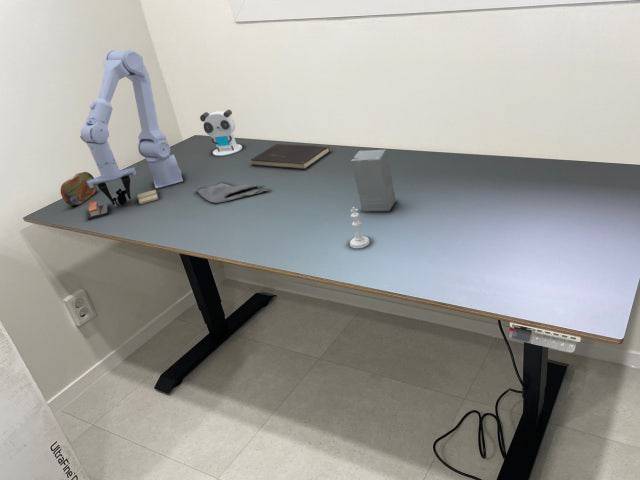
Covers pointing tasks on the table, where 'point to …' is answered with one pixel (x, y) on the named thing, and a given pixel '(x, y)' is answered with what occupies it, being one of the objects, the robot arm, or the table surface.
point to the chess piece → (358, 233)
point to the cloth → (228, 192)
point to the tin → (77, 189)
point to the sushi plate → (97, 210)
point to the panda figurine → (221, 132)
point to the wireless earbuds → (120, 197)
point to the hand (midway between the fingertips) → (121, 201)
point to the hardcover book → (290, 156)
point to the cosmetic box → (373, 180)
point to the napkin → (147, 196)
